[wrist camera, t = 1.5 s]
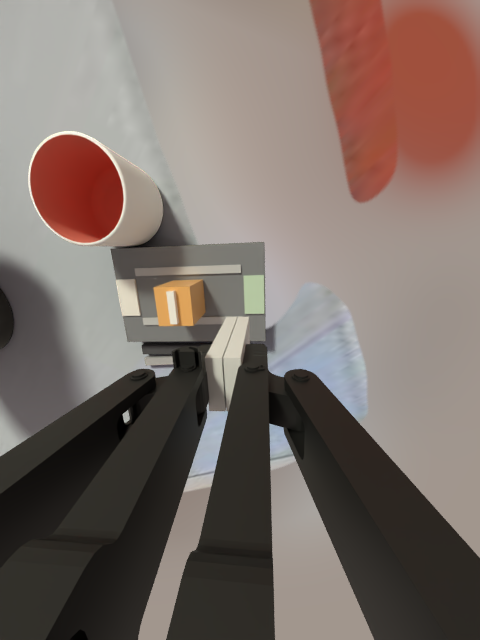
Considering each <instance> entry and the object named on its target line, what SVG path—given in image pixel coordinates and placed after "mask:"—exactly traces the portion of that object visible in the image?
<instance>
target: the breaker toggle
mask: <svg viewBox="0 0 480 640" xmlns="http://www.w3.org/2000/svg"><path fill="white" fill-rule="evenodd" d="M153 288H154V295H155V302H156V309H157V316H158V323H159V326H194V325H195V324H196V323H197V321H198V320H199V319H200V318H201V317H202V316H203V315H204V314H205V312H206V310H205V298H204V286H203V279H201V280H173V281H170V282H167V283H164V284H162V285H159V286H156V287H153Z"/></svg>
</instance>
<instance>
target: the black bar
mask: <svg viewBox="0 0 480 640" xmlns="http://www.w3.org/2000/svg"><path fill="white" fill-rule="evenodd" d="M201 345H212V343H144V344H143V345H142V351H143V354H172V351H173V350H175V349H177V348H180V347H184V346H196V347H199V346H201Z"/></svg>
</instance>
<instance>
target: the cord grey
mask: <svg viewBox="0 0 480 640" xmlns="http://www.w3.org/2000/svg"><path fill="white" fill-rule="evenodd" d="M145 364H146V366H147V365H170V364H173V358H172V355H157V356H147V357H146V358H145Z"/></svg>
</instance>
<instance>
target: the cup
mask: <svg viewBox="0 0 480 640" xmlns="http://www.w3.org/2000/svg"><path fill="white" fill-rule="evenodd" d="M28 182H29V190H30V195H31V199H32V201H33V204H34V207H35V209H36V211H37V213H38V214H39V216H40V218H41V219H42V220H43V222H44V223H45V224H46V225H47V227H48V228H49V229H50V230H51V231H52V232H54V233H55V234H56V235H57V236H59V237H60V238H62V239H64V240H65V241H68V242H70V243H73V244H76V245H81V246H138V245H141V244H144V243H146V242H147V241H149V240H150V239H151V238H152V237H153V236H154V235H155V234H156V233H157V231H158V229H159V227H160V225H161V222H162V217H163V203H162V198H161V195H160V192H159V190H158V188H157V186H156V184H155V183H154V181H153V180H152V179H151V177H150V176H149V175H148V174H147V173H146V172H144V171H143V170H142V169H140V168H139V167H137V166H136V165H134V164H133V163H131V162H130V161H128V160H126V159H125V158H123V157H122V156H120V155H119V154H117V153H116V152H114V151H113V150H111V149H109V148H108V147H106V146H105V145H103V144H102V143H100V142H99V141H97V140H95V139H94V138H92V137H90V136H88V135H86V134H83V133H79V132H73V131H65V132H59V133H56V134H53V135H51V136H49V137H48V138H46V139H45V140H44V141H43V142H42V143H41V144H40V145H39V146H38V147H37V149H36V150H35V152H34V154H33V157H32V159H31V162H30V166H29V173H28Z"/></svg>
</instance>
